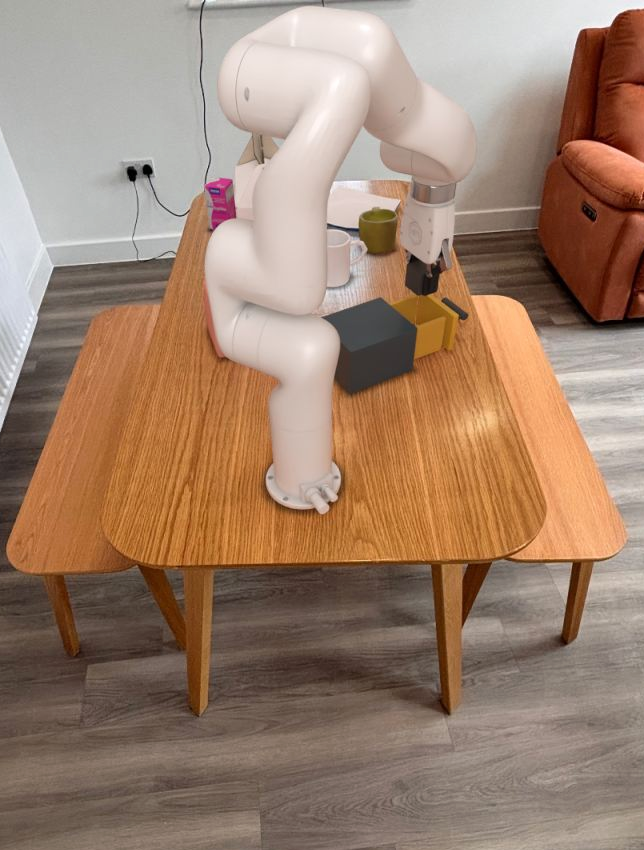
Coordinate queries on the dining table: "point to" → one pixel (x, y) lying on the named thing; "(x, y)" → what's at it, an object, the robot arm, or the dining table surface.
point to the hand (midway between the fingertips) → (421, 286)
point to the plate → (354, 207)
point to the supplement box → (219, 201)
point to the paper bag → (251, 172)
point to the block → (415, 276)
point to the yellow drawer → (431, 321)
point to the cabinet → (372, 344)
